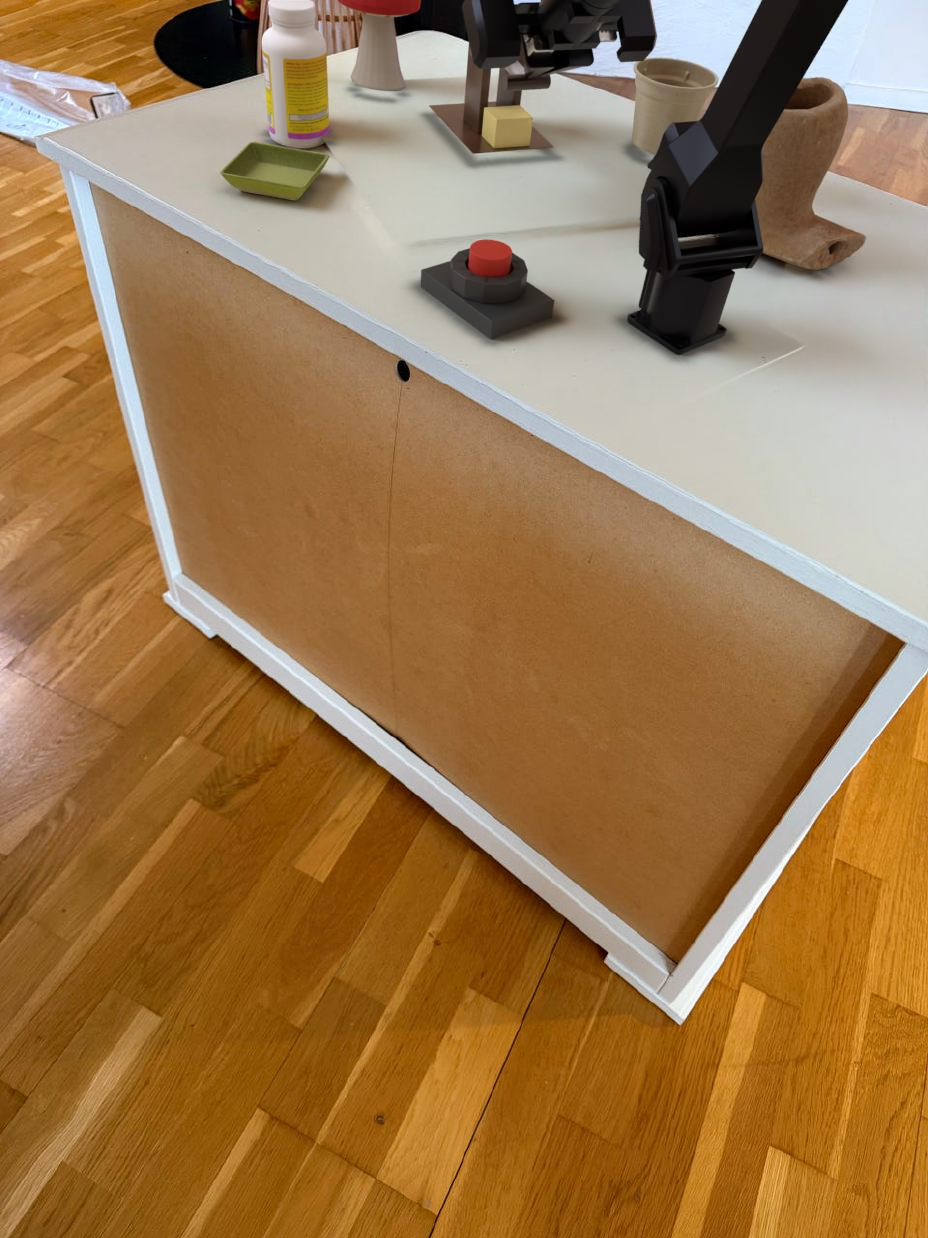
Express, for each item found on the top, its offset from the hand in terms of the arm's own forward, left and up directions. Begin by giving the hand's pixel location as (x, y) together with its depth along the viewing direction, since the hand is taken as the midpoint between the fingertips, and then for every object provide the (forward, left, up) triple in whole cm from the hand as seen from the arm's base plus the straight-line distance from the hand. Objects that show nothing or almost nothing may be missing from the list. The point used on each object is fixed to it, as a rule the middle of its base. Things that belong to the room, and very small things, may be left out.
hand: (528, 74), depth 92 cm
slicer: (+8, -2, -9) cm, 12 cm away
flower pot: (-5, -17, -9) cm, 20 cm away
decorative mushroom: (+25, +2, -9) cm, 27 cm away
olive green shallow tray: (+8, +26, -9) cm, 28 cm away
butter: (+4, -1, -8) cm, 9 cm away
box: (-21, +22, -9) cm, 32 cm away
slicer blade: (+4, -1, -2) cm, 5 cm away
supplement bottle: (+17, +18, -9) cm, 26 cm away
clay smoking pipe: (-27, -10, -9) cm, 30 cm away
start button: (-21, +22, -6) cm, 31 cm away
